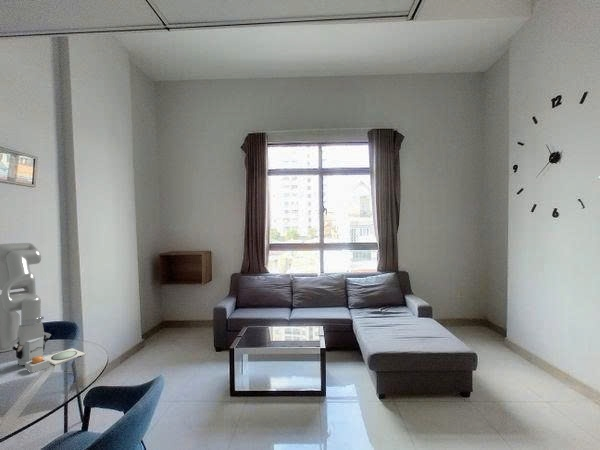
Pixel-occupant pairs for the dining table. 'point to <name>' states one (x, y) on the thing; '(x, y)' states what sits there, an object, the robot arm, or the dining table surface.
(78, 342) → the dining table surface
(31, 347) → the supplement box
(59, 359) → the picture board
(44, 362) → the button housing
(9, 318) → the robot arm
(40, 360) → the button
